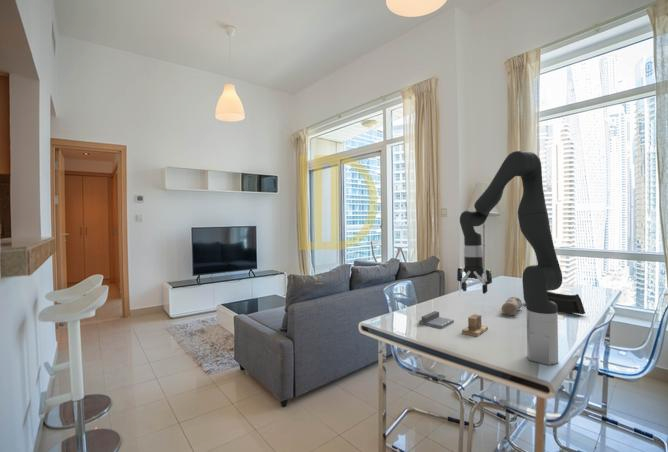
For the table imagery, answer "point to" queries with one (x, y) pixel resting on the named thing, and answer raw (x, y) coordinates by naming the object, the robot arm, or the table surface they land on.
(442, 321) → the board
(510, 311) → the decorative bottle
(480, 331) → the stub
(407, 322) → the table surface
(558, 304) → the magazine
